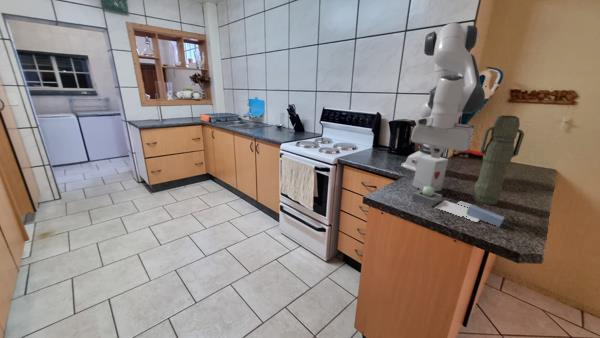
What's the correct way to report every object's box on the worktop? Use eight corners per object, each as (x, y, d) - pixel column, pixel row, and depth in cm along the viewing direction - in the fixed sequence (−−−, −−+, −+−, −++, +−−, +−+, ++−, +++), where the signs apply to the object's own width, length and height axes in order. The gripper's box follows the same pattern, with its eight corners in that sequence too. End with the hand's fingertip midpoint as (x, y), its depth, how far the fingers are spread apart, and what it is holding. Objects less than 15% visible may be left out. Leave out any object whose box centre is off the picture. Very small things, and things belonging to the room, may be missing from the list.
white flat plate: (434, 208, 94) (434, 207, 94) (444, 201, 100) (445, 200, 100) (476, 223, 84) (476, 222, 84) (485, 214, 90) (485, 213, 90)
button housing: (412, 199, 101) (413, 193, 100) (421, 195, 106) (422, 188, 105) (431, 207, 95) (433, 200, 94) (440, 201, 100) (441, 195, 99)
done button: (420, 195, 100) (421, 187, 99) (424, 193, 102) (426, 185, 101) (430, 198, 97) (431, 190, 96) (434, 196, 99) (436, 188, 98)
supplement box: (429, 193, 107) (436, 161, 102) (412, 186, 115) (417, 156, 110) (441, 190, 111) (449, 159, 107) (424, 183, 119) (430, 154, 114)
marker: (468, 206, 88) (502, 220, 81) (471, 204, 90) (504, 217, 82) (466, 213, 89) (499, 227, 82) (469, 211, 91) (501, 224, 84)
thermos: (506, 207, 96) (535, 118, 85) (472, 202, 100) (495, 116, 89) (496, 198, 104) (521, 115, 93) (465, 194, 108) (486, 114, 97)
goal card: (456, 204, 98) (456, 203, 98) (460, 201, 100) (460, 200, 100) (473, 209, 94) (473, 208, 93) (476, 206, 96) (477, 206, 96)
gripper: (478, 124, 84) (468, 162, 89) (419, 118, 99) (414, 151, 103) (472, 126, 80) (462, 165, 85) (412, 119, 95) (406, 153, 100)
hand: (435, 157), depth 94 cm, fingers closed
